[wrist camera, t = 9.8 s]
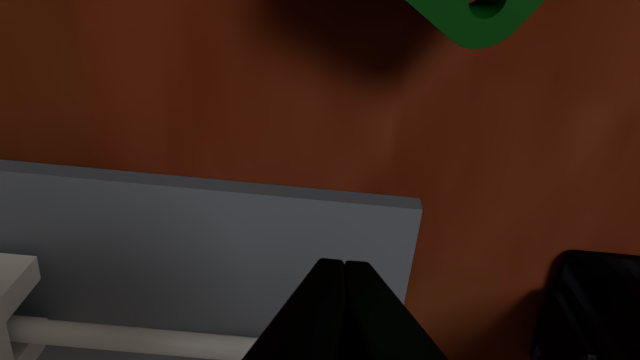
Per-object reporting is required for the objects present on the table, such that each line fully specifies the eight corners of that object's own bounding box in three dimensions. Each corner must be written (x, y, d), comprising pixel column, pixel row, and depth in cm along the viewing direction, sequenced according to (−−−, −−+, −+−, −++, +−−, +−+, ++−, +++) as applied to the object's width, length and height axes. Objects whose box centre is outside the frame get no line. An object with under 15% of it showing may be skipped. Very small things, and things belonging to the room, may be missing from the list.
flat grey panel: (419, 198, 23) (439, 267, 19) (380, 398, 29) (388, 488, 24) (-197, 141, 23) (-327, 198, 18) (-119, 355, 28) (-205, 439, 24)
